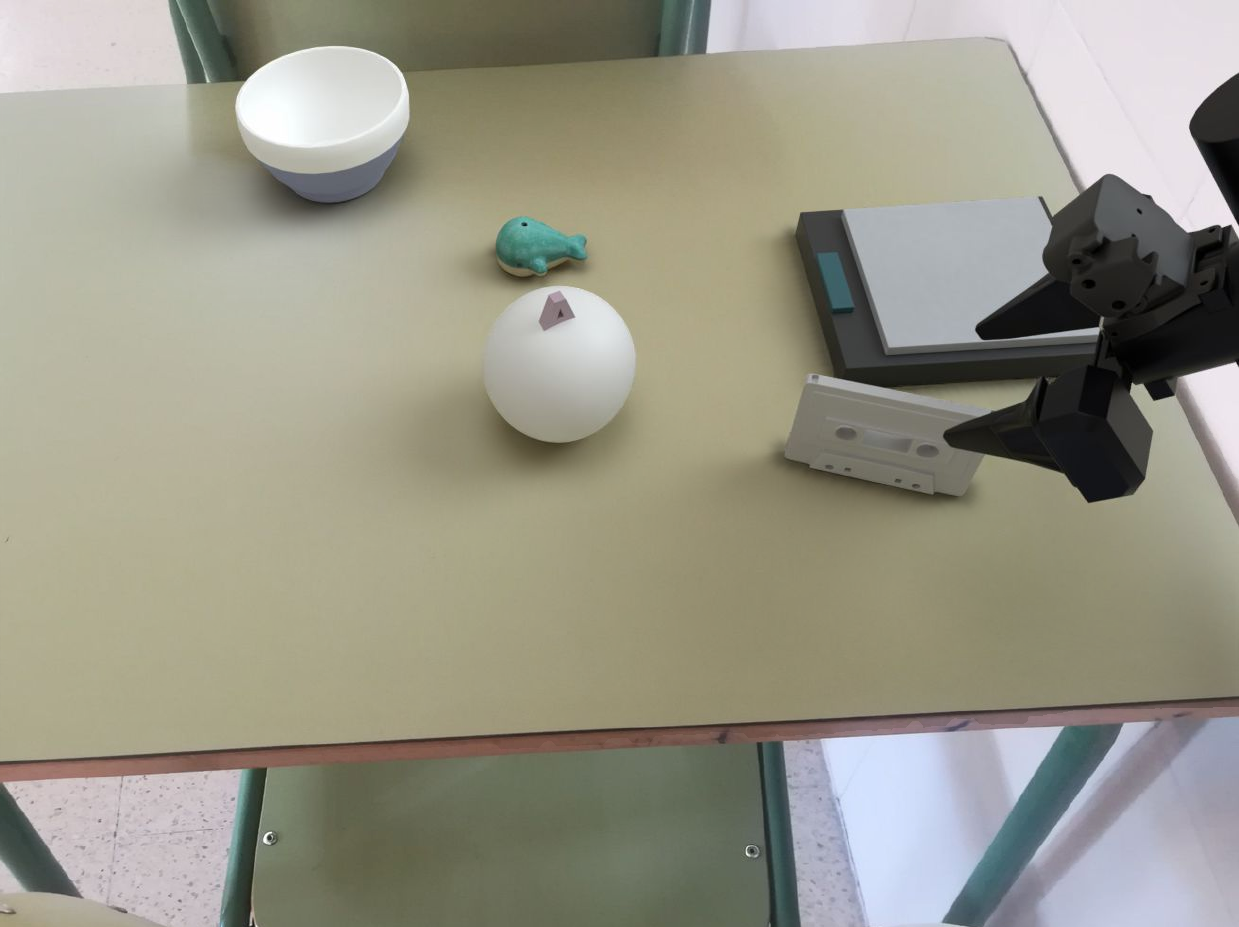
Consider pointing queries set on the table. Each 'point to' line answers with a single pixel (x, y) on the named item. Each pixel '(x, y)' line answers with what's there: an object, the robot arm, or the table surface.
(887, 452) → the cassette
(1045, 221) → the scale
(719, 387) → the table surface
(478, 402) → the table surface
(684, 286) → the table surface
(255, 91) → the bowl
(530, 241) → the whale figurine
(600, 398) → the ornament
